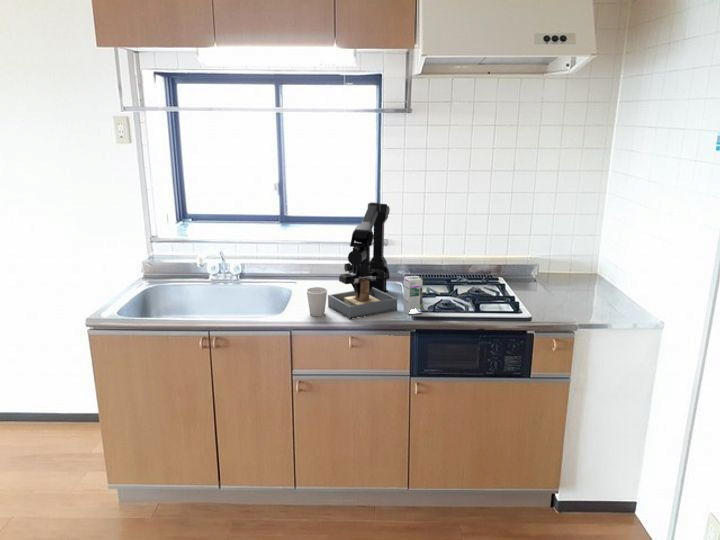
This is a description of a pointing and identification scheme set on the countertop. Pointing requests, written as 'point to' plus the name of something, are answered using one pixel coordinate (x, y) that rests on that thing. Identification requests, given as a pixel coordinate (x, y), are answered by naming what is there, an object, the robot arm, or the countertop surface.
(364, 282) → the walnut peg
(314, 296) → the dixie cup
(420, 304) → the syrup box
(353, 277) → the robot arm
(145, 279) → the countertop surface
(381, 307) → the charcoal tray
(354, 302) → the birch bore plate
